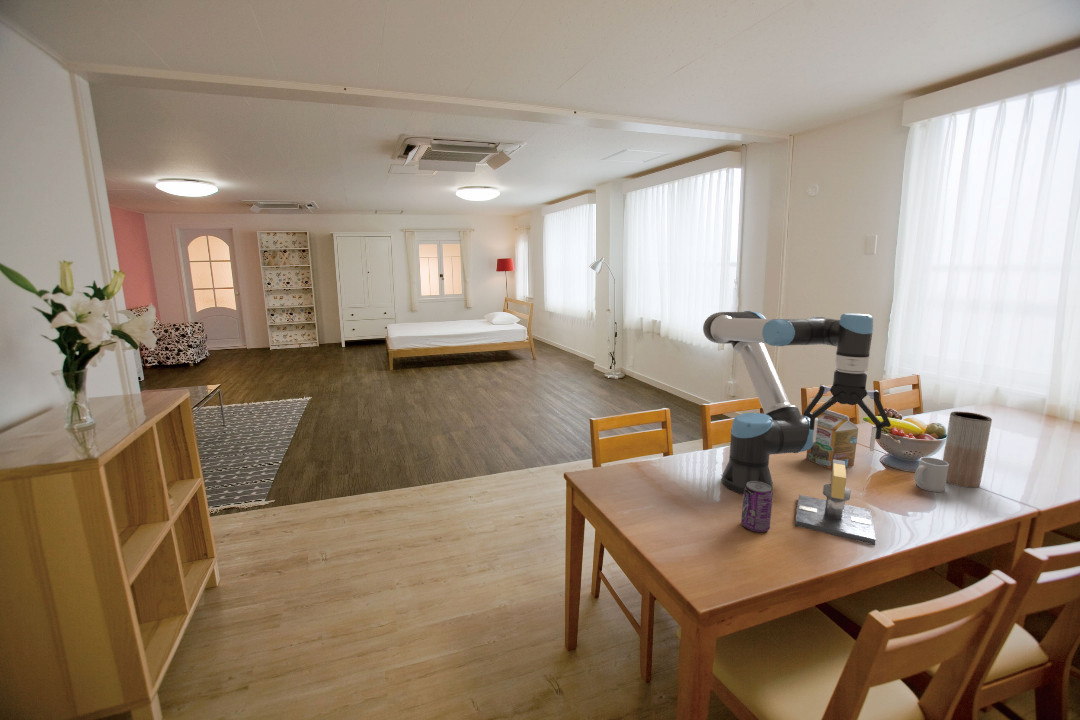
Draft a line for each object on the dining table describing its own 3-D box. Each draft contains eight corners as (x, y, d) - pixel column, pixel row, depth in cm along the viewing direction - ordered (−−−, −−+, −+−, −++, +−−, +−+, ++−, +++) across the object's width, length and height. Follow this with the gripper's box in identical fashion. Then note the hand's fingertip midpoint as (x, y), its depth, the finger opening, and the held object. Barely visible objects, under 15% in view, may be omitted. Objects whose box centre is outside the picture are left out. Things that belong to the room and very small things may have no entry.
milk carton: (806, 458, 176) (811, 409, 172) (827, 455, 179) (833, 407, 175) (830, 469, 166) (837, 417, 162) (853, 465, 169) (860, 415, 165)
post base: (795, 525, 129) (797, 501, 128) (798, 499, 144) (800, 477, 143) (874, 544, 120) (878, 519, 118) (869, 514, 135) (872, 491, 134)
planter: (950, 486, 153) (962, 419, 149) (933, 473, 162) (943, 410, 158) (987, 489, 150) (1000, 421, 146) (967, 476, 160) (979, 412, 156)
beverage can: (745, 517, 133) (748, 478, 131) (772, 526, 129) (776, 485, 127) (737, 528, 128) (740, 486, 126) (765, 537, 123) (769, 494, 121)
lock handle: (822, 502, 127) (825, 474, 125) (822, 483, 138) (825, 457, 136) (850, 508, 123) (854, 479, 122) (848, 489, 134) (852, 462, 133)
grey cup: (950, 491, 149) (955, 464, 148) (925, 494, 147) (929, 467, 145) (927, 481, 156) (931, 456, 154) (903, 484, 154) (906, 458, 152)
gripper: (798, 368, 131) (791, 441, 135) (910, 378, 118) (899, 458, 122) (799, 364, 137) (792, 433, 141) (906, 373, 125) (895, 449, 128)
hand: (842, 445), depth 132 cm, fingers open, 13 cm apart
